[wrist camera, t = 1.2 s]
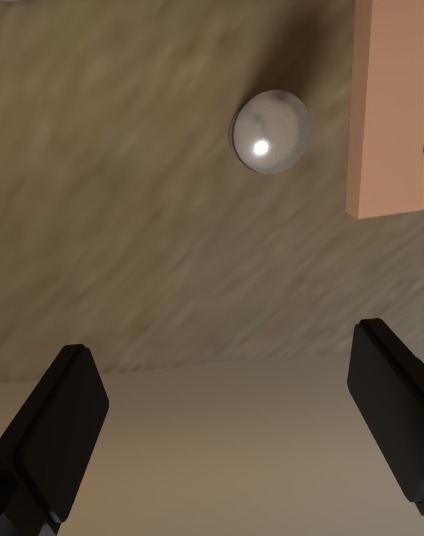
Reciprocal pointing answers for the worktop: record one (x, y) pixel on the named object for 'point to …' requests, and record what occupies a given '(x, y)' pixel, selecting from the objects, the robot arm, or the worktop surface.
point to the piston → (270, 131)
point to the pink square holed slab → (386, 109)
